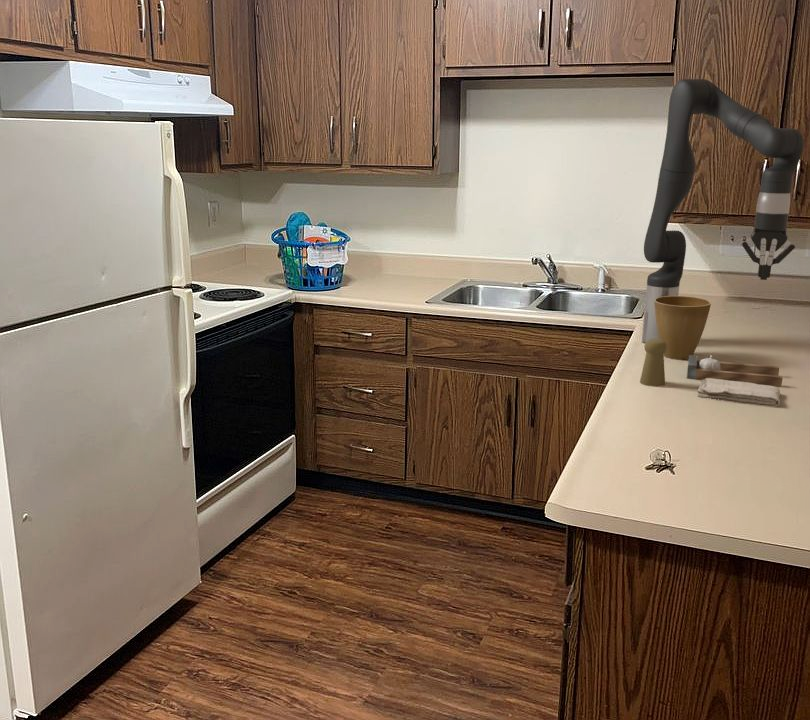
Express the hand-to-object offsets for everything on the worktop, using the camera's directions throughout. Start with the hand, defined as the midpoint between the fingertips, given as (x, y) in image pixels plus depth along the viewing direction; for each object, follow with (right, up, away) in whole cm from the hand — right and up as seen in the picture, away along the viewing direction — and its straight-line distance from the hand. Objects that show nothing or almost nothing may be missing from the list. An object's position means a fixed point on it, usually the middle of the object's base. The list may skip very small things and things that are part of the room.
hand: (763, 279), depth 209 cm
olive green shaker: (-30, -27, -6) cm, 41 cm away
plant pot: (-16, -20, +20) cm, 32 cm away
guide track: (-8, -25, 0) cm, 26 cm away
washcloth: (-13, -30, -16) cm, 36 cm away
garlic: (-14, -25, +1) cm, 28 cm away
